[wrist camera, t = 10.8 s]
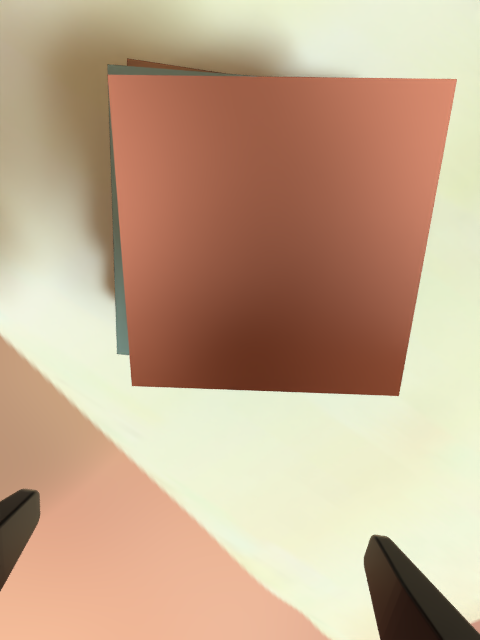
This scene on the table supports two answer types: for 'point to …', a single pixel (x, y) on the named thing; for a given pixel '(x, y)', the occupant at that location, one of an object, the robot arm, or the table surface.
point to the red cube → (274, 226)
